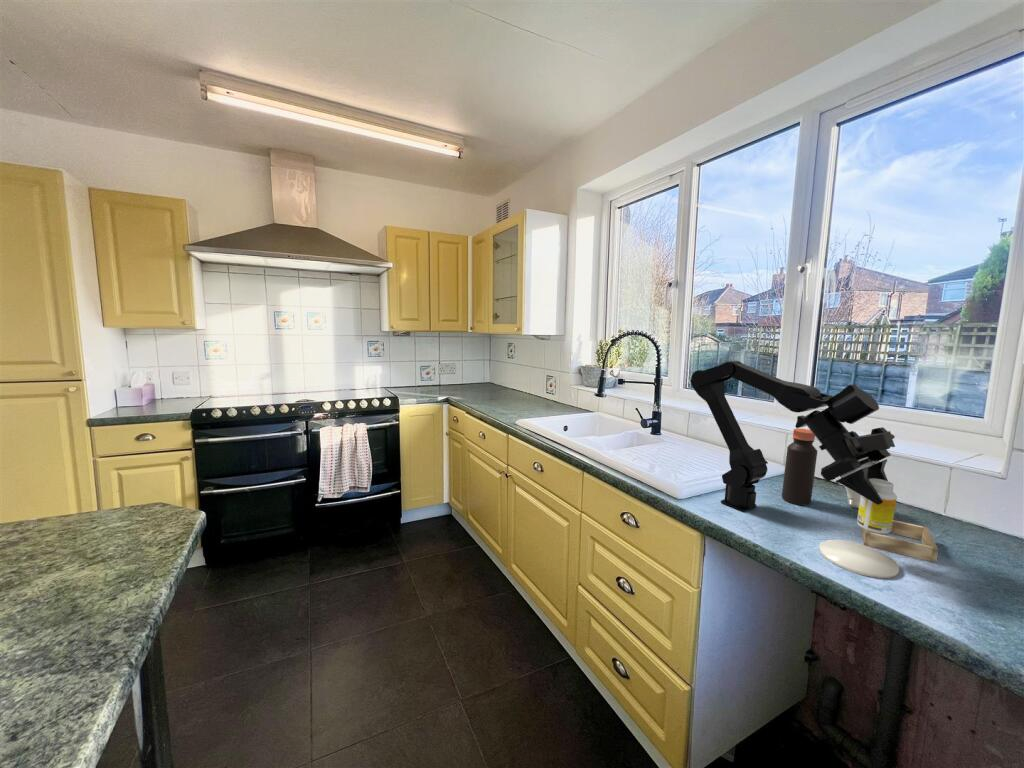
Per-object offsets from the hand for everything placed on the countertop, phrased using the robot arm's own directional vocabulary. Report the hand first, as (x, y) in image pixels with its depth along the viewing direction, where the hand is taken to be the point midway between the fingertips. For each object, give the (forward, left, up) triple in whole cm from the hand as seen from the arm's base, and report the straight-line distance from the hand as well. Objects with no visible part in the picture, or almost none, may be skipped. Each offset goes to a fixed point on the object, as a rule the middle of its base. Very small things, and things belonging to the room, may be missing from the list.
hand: (886, 500), depth 87 cm
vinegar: (-24, +17, -13) cm, 32 cm away
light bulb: (-14, +26, -13) cm, 32 cm away
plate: (-2, -3, -13) cm, 14 cm away
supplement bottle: (-1, 0, -7) cm, 7 cm away
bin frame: (-1, +13, -13) cm, 18 cm away
